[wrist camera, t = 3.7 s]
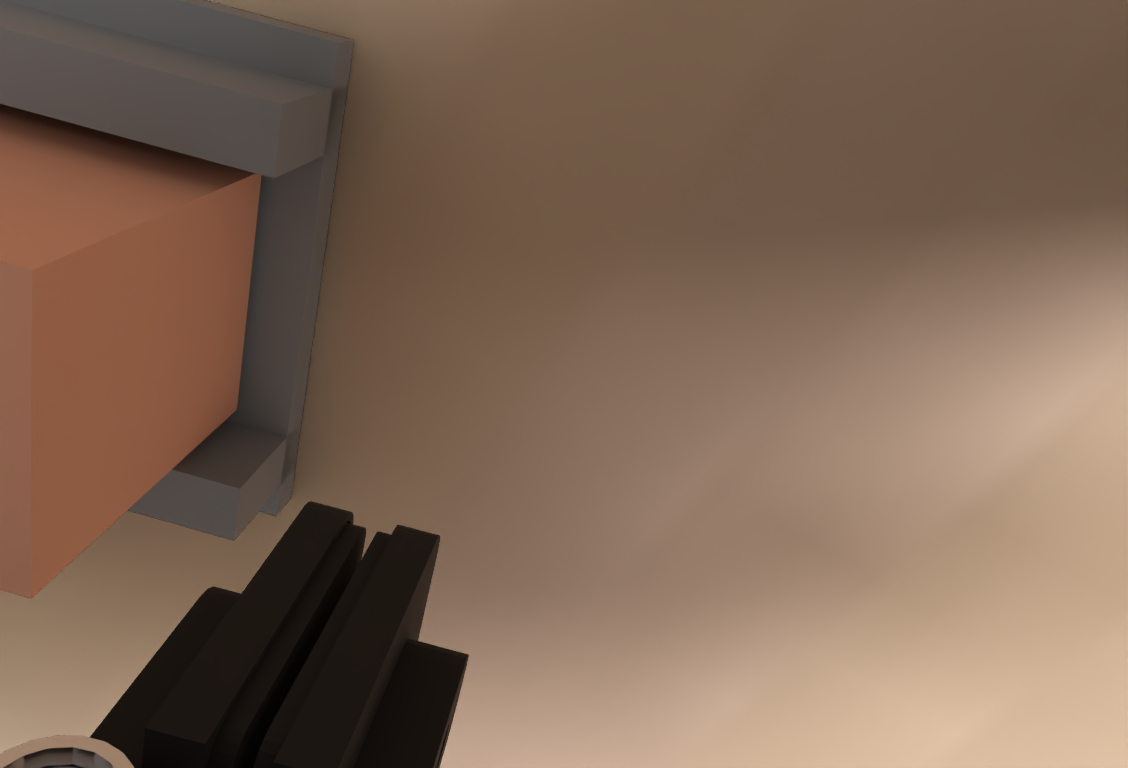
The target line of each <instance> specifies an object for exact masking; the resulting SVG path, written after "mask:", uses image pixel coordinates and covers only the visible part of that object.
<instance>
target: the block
mask: <svg viewBox="0 0 1128 768" xmlns="http://www.w3.org/2000/svg"><path fill="white" fill-rule="evenodd" d="M260 184H261V175H260V174H256V173H252V172H249V171H245V170H241V169H238V168H234V167H230V166H227V165H223V164H219V163H216V162H212V161H209V160H205V159H201V158H198V157H194V156H190V155H187V154H183V153H179V152H176V151H172V150H168V149H165V148H161V147H157V146H154V145H150V144H146V143H143V142H139V141H135V140H132V139H128V138H124V137H121V136H117V135H113V134H110V133H106V132H102V131H99V130H95V129H91V128H88V127H84V126H80V125H77V124H73V123H70V122H66V121H62V120H59V119H55V118H51V117H48V116H44V115H40V114H37V113H33V112H29V111H26V110H22V109H18V108H15V107H11V106H7V105H4V104H0V590H3V591H7V592H10V593H13V594H17V595H20V596H24V597H27V598H32V597H33V596H34V595H36V594H37V593H38V592H39V591H40V590H41V589H42V588H43V587H44V586H45V585H46V584H48V583H49V582H50V581H51V580H52V579H53V578H54V577H55V576H56V575H57V574H58V573H59V572H61V571H62V570H63V569H64V568H65V567H66V566H67V565H68V564H69V563H70V562H71V561H73V560H74V559H75V558H76V557H77V556H78V555H79V554H80V553H81V552H82V551H83V550H85V549H86V548H87V547H88V546H89V545H90V544H91V543H92V542H93V541H94V540H95V539H96V538H98V537H99V536H100V535H101V534H102V533H103V532H104V531H105V530H106V529H107V528H108V527H110V526H111V525H112V524H113V523H114V522H115V521H116V520H117V519H118V518H119V517H120V516H122V515H123V514H124V513H125V512H126V511H127V510H128V509H129V508H130V507H131V506H132V505H134V504H135V503H136V502H137V501H138V500H139V499H140V498H141V497H142V496H143V495H144V494H145V493H147V492H148V491H149V490H150V489H151V488H152V487H153V486H154V485H155V484H156V483H157V482H159V481H160V480H161V479H162V478H163V477H164V476H165V475H166V474H167V473H168V472H169V471H171V470H172V469H173V468H174V467H175V466H176V465H177V464H178V463H179V462H180V461H181V460H182V459H184V458H185V457H186V456H187V455H188V454H189V453H190V452H191V451H192V450H193V449H194V448H196V447H197V446H198V445H199V444H200V443H201V442H202V441H203V440H204V439H205V438H206V437H208V436H209V435H210V434H211V433H212V432H213V431H214V430H215V429H216V428H217V427H218V426H219V425H221V424H222V423H223V422H224V421H225V420H226V419H227V418H228V417H229V416H230V415H231V414H233V413H234V412H235V411H236V410H237V404H238V394H239V384H240V375H241V365H242V356H243V346H244V337H245V327H246V318H247V308H248V299H249V289H250V280H251V270H252V261H253V251H254V241H255V232H256V222H257V213H258V203H259V194H260Z"/></svg>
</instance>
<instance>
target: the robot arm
mask: <svg viewBox="0 0 1128 768" xmlns="http://www.w3.org/2000/svg"><path fill="white" fill-rule="evenodd" d="M365 537H366V529H365V528H364V527H360V526H356V525H353V513H352V512H349V511H345V510H342V509H338V508H334V507H330V506H327V505H323V504H319V503H315V502H312V501H310V502H308V503H307V504H306V505H305V506H304V508H303V509H302V510H301V512H300V513H299V515H298V516H297V517H296V519H295V520H294V521H293V523H292V524H291V526H290V527H289V528H288V530H287V531H286V533H285V534H284V535H283V537H282V538H281V540H280V541H279V542H278V544H277V545H276V546H275V548H274V549H273V551H272V552H271V553H270V555H269V556H268V558H267V559H266V560H265V562H264V563H263V565H262V566H261V567H260V569H259V570H258V571H257V573H256V574H255V576H254V577H253V578H252V580H251V581H250V583H249V584H248V585H247V587H246V588H245V590H244V591H243V592H242V594H240V593H236V592H232V591H228V590H225V589H221V588H217V587H211V588H209V589H207V590H206V591H205V592H204V593H203V594H202V595H201V596H200V598H199V599H198V600H197V601H196V603H195V604H194V605H193V607H192V608H191V609H190V610H189V612H188V613H187V614H186V616H185V617H184V618H183V619H182V621H181V622H180V623H179V624H178V626H177V627H176V628H175V630H174V631H173V632H172V633H171V635H170V636H169V637H168V638H167V640H166V641H165V642H164V644H163V645H162V646H161V647H160V649H159V650H158V651H157V652H156V654H155V655H154V656H153V658H152V659H151V660H150V661H149V663H148V664H147V665H146V666H145V668H144V669H143V670H142V672H141V673H140V674H139V675H138V677H137V678H136V679H135V680H134V682H133V683H132V684H131V686H130V687H129V688H128V689H127V691H126V692H125V693H124V694H123V696H122V697H121V698H120V700H119V701H118V702H117V703H116V705H115V706H114V707H113V709H112V710H111V711H110V712H109V714H108V715H107V716H106V717H105V719H104V720H103V721H102V723H101V724H100V725H99V726H98V728H97V729H96V730H95V731H94V733H93V734H92V735H91V737H86V736H66V735H57V736H52V737H46V738H41V739H36V740H31V741H28V742H26V743H23V744H21V745H19V746H16V747H14V748H11V749H9V750H6V751H4V752H3V753H2V754H0V768H439V767H440V764H441V760H442V757H443V753H444V750H445V746H446V743H447V739H448V736H449V732H450V728H451V725H452V721H453V717H454V713H455V709H456V706H457V702H458V698H459V694H460V690H461V686H462V682H463V678H464V674H465V670H466V666H467V661H468V657H469V655H468V654H464V653H460V652H456V651H453V650H449V649H445V648H441V647H438V646H434V645H430V644H427V643H423V642H419V641H418V638H419V633H420V629H421V624H422V620H423V615H424V611H425V606H426V602H427V597H428V593H429V588H430V584H431V579H432V575H433V570H434V566H435V561H436V557H437V552H438V548H439V542H440V536H439V535H435V534H431V533H428V532H424V531H420V530H416V529H413V528H409V527H405V526H401V525H397V526H396V528H395V529H394V531H393V533H392V535H390V534H386V533H382V532H377V533H376V535H375V536H374V538H373V540H372V542H371V544H370V545H369V547H368V549H367V551H366V553H365V555H364V556H363V558H362V553H363V548H364V543H365ZM361 559H362V560H361Z"/></svg>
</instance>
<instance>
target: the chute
mask: <svg viewBox="0 0 1128 768" xmlns="http://www.w3.org/2000/svg"><path fill="white" fill-rule="evenodd" d="M353 44H354V40H351V39H348V38H344V37H340V36H336V35H333V34H329V33H325V32H321V31H318V30H314V29H310V28H307V27H303V26H299V25H295V24H292V23H288V22H284V21H280V20H277V19H273V18H269V17H265V16H262V15H258V14H254V13H251V12H247V11H243V10H239V9H236V8H232V7H228V6H224V5H221V4H217V3H213V2H210V1H206V0H0V104H4V105H7V106H11V107H15V108H18V109H22V110H26V111H29V112H33V113H37V114H40V115H44V116H48V117H51V118H55V119H59V120H62V121H66V122H70V123H73V124H77V125H80V126H84V127H88V128H91V129H95V130H99V131H102V132H106V133H110V134H113V135H117V136H121V137H124V138H128V139H132V140H135V141H139V142H143V143H146V144H150V145H154V146H157V147H161V148H165V149H168V150H172V151H176V152H179V153H183V154H187V155H190V156H194V157H198V158H201V159H205V160H209V161H212V162H216V163H219V164H223V165H227V166H230V167H234V168H238V169H241V170H245V171H249V172H252V173H256V174H260V175H261V184H260V194H259V203H258V213H257V222H256V232H255V241H254V251H253V261H252V270H251V280H250V289H249V299H248V308H247V318H246V327H245V337H244V346H243V356H242V365H241V375H240V384H239V394H238V404H237V410H236V411H235V412H234V413H233V414H231V415H230V416H229V417H228V418H227V419H226V420H225V421H224V422H223V423H222V424H221V425H219V426H218V427H217V428H216V429H215V430H214V431H213V432H212V433H211V434H210V435H209V436H208V437H206V438H205V439H204V440H203V441H202V442H201V443H200V444H199V445H198V446H197V447H196V448H194V449H193V450H192V451H191V452H190V453H189V454H188V455H187V456H186V457H185V458H184V459H182V460H181V461H180V462H179V463H178V464H177V465H176V466H175V467H174V468H173V469H172V470H171V471H169V472H168V473H167V474H166V475H165V476H164V477H163V478H162V479H161V480H160V481H159V482H157V483H156V484H155V485H154V486H153V487H152V488H151V489H150V490H149V491H148V492H147V493H145V494H144V495H143V496H142V497H141V498H140V499H139V500H138V501H137V502H136V503H135V504H134V505H132V506H131V507H130V508H129V509H128V511H131V512H135V513H138V514H142V515H145V516H149V517H152V518H156V519H159V520H163V521H166V522H170V523H173V524H177V525H180V526H184V527H187V528H191V529H194V530H198V531H201V532H205V533H208V534H212V535H215V536H219V537H222V538H226V539H229V540H233V541H234V540H235V539H236V538H237V537H238V536H239V534H240V533H241V532H242V531H243V530H244V528H245V527H246V526H247V525H248V524H249V522H250V521H251V520H252V519H253V518H254V516H255V515H256V514H257V513H258V512H263V513H266V514H270V515H273V516H277V515H278V514H279V513H280V511H281V510H282V509H283V508H284V506H285V505H286V504H287V503H288V501H289V500H290V499H291V495H292V487H293V480H294V473H295V466H296V458H297V451H298V444H299V437H300V429H301V422H302V415H303V407H304V400H305V393H306V386H307V378H308V371H309V364H310V357H311V349H312V342H313V335H314V328H315V320H316V313H317V306H318V298H319V291H320V284H321V277H322V269H323V262H324V255H325V248H326V240H327V233H328V226H329V219H330V211H331V204H332V197H333V190H334V182H335V175H336V168H337V160H338V153H339V146H340V139H341V131H342V124H343V117H344V110H345V102H346V95H347V88H348V81H349V73H350V66H351V59H352V51H353Z"/></svg>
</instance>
